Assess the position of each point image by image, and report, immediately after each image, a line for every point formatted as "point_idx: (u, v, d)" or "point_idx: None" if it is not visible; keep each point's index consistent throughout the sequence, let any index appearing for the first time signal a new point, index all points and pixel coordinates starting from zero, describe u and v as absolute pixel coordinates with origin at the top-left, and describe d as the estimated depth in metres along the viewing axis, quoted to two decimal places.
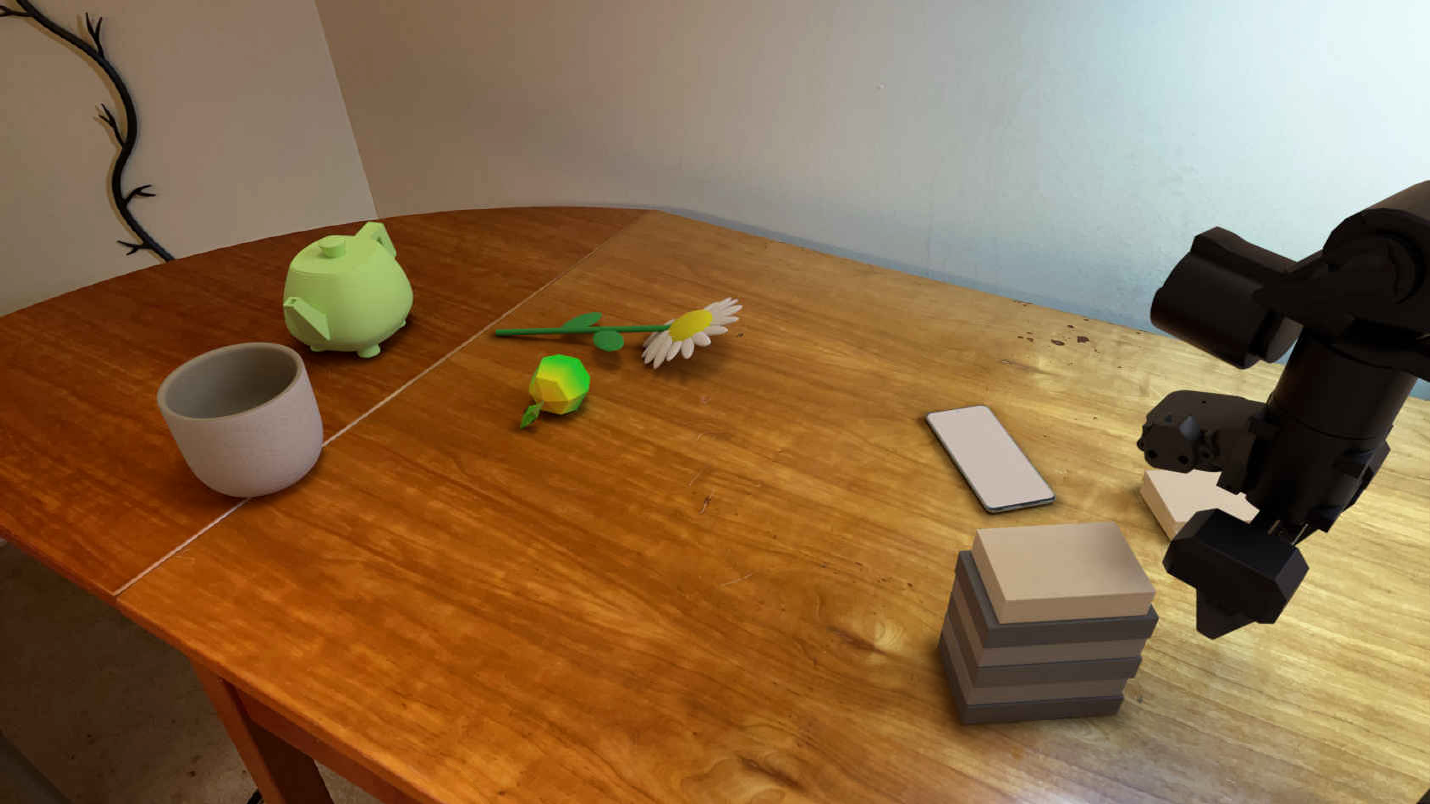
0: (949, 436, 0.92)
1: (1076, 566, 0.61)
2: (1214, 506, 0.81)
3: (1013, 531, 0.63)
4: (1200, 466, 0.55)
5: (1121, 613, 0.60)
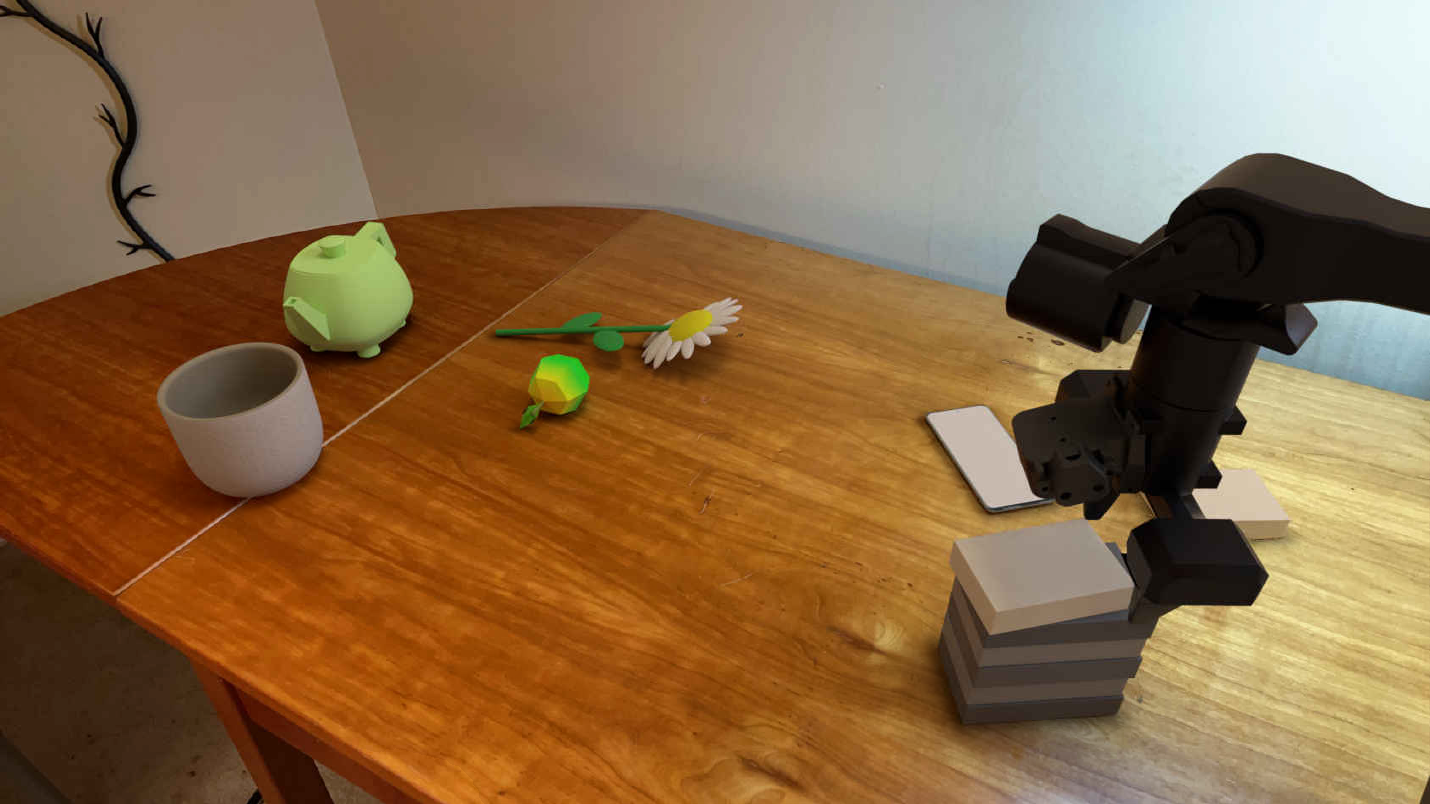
0: (949, 436, 0.92)
1: (1057, 568, 0.61)
2: (1214, 506, 0.81)
3: (990, 538, 0.63)
4: None
5: (1104, 610, 0.60)
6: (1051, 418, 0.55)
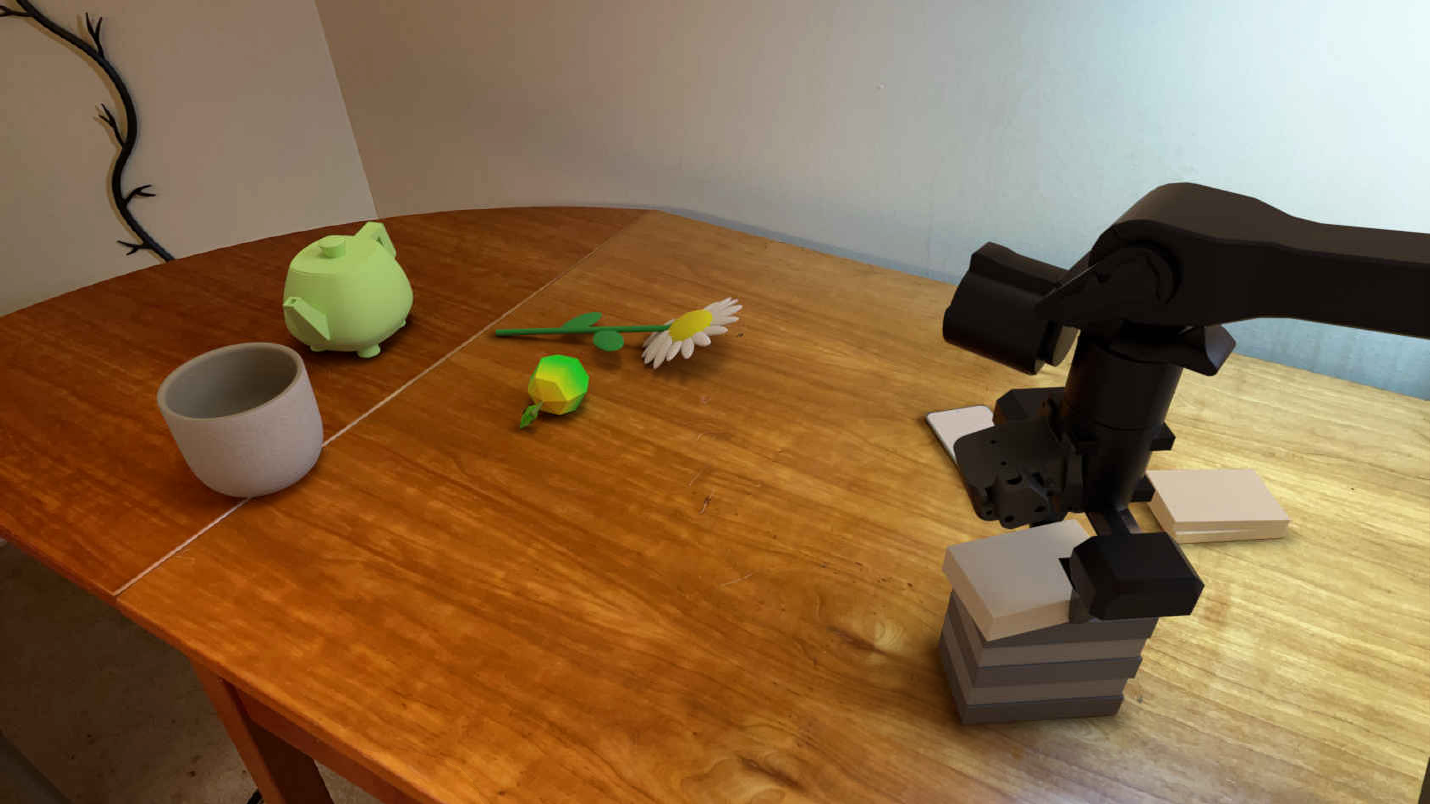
0: (949, 436, 0.92)
1: (1050, 571, 0.60)
2: (1214, 506, 0.81)
3: (982, 543, 0.62)
4: None
5: None
6: (991, 442, 0.56)
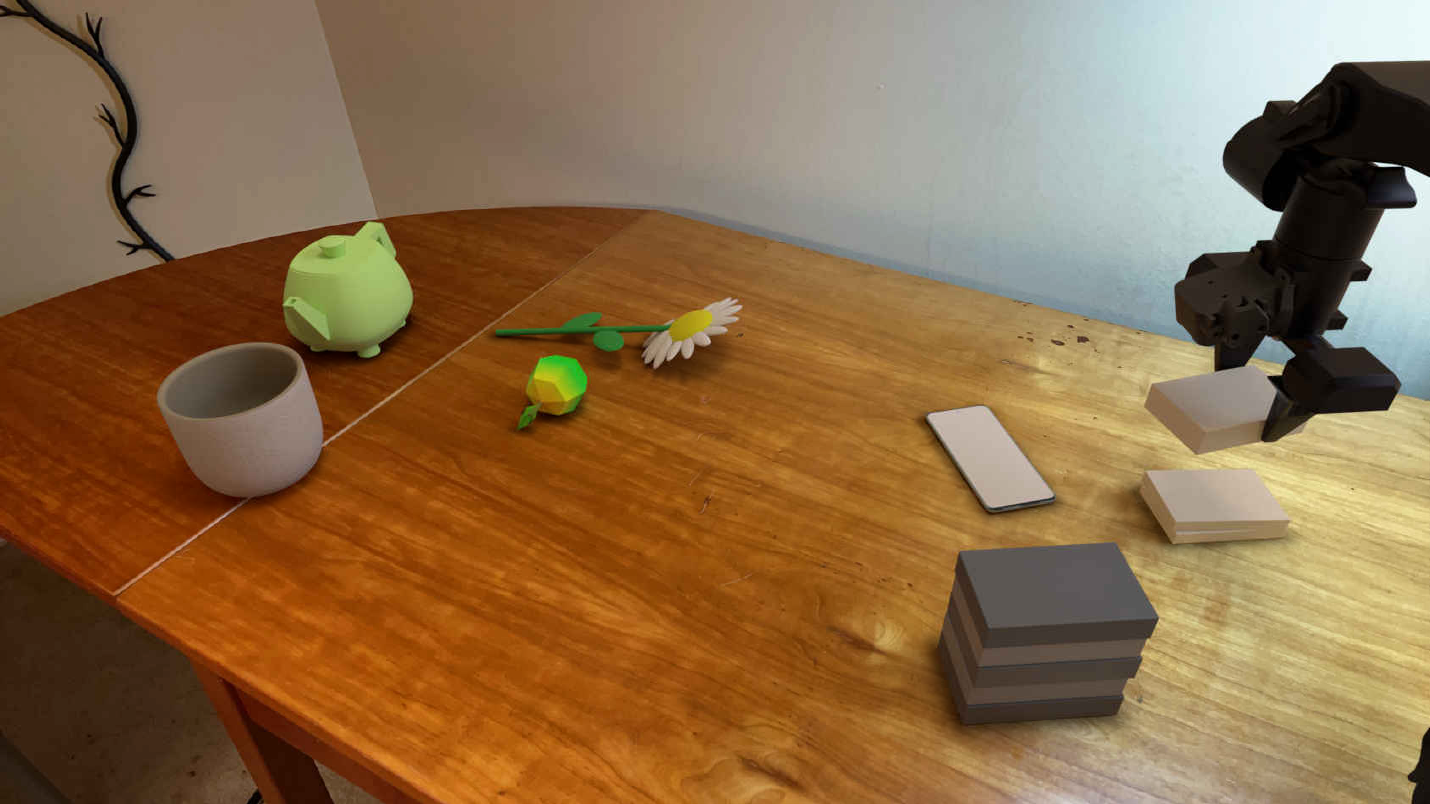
0: (949, 436, 0.92)
1: (1244, 400, 0.72)
2: (1214, 506, 0.81)
3: (1181, 381, 0.74)
4: None
5: None
6: (1208, 282, 0.68)
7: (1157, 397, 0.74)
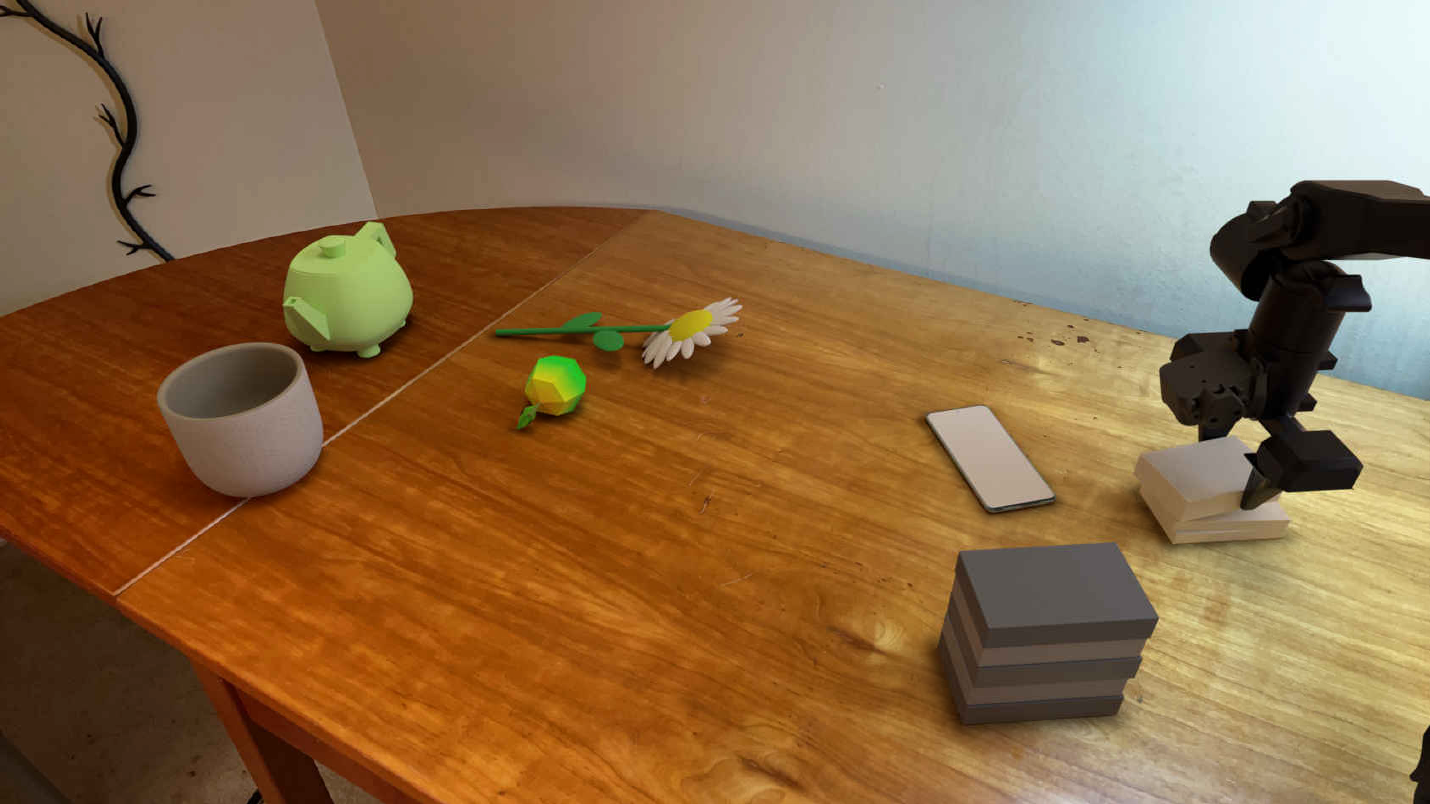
0: (949, 436, 0.92)
1: (1224, 471, 0.79)
2: None
3: (1167, 452, 0.81)
4: None
5: None
6: (1190, 367, 0.74)
7: (1145, 466, 0.80)
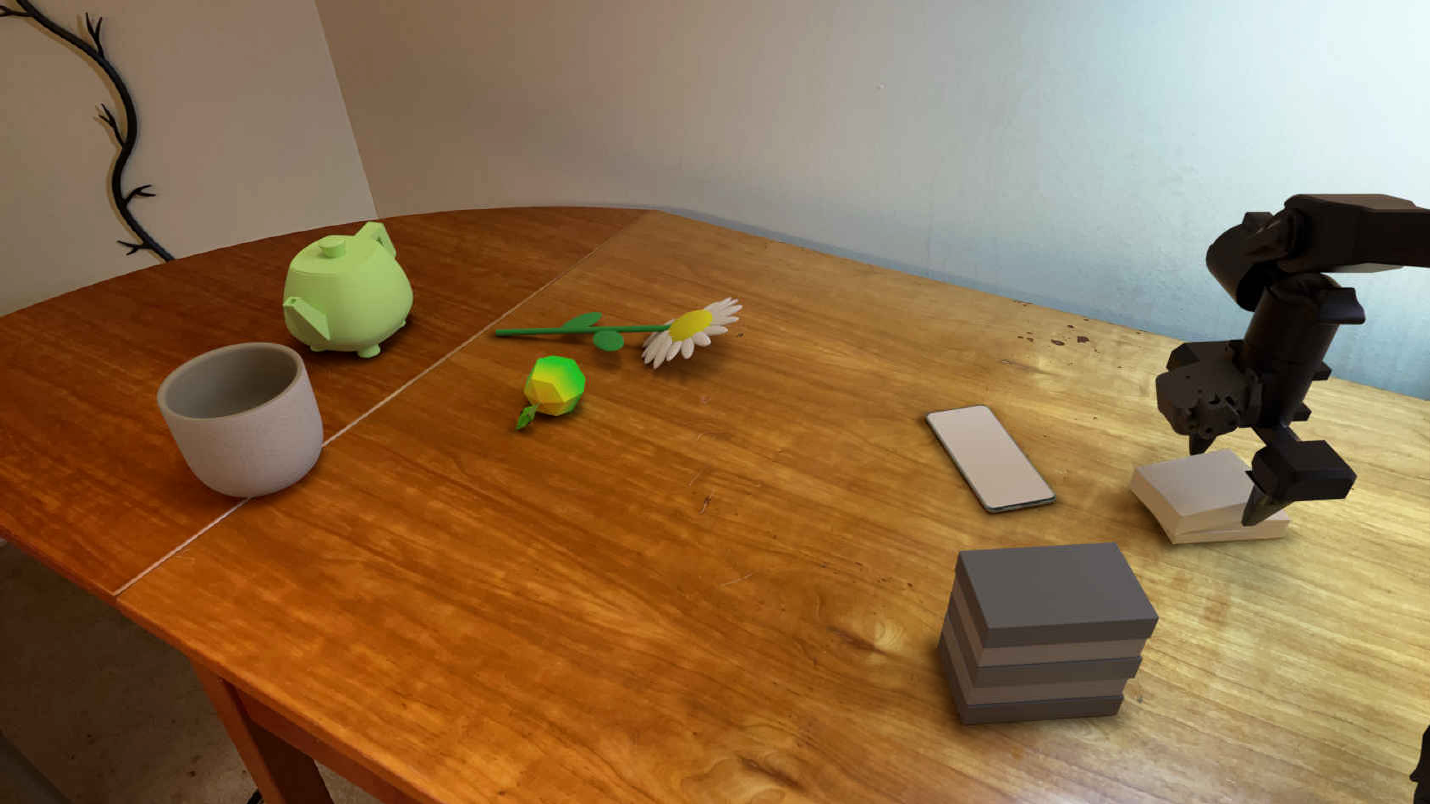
0: (949, 436, 0.92)
1: (1218, 484, 0.80)
2: None
3: (1162, 465, 0.82)
4: None
5: None
6: (1186, 377, 0.75)
7: (1139, 480, 0.81)
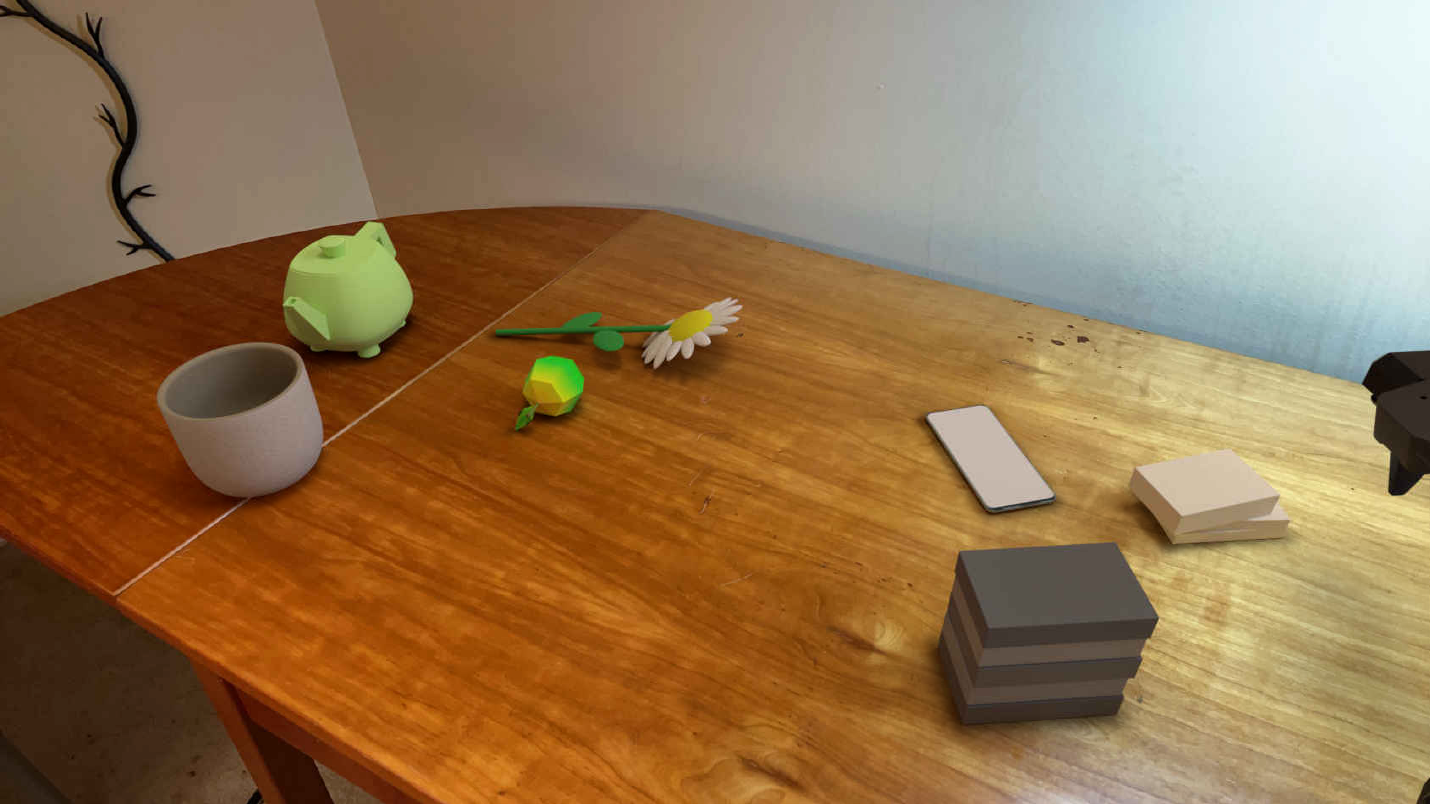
0: (949, 436, 0.92)
1: (1218, 484, 0.80)
2: None
3: (1162, 465, 0.82)
4: None
5: (1255, 514, 0.79)
6: (1420, 397, 0.57)
7: (1139, 480, 0.81)
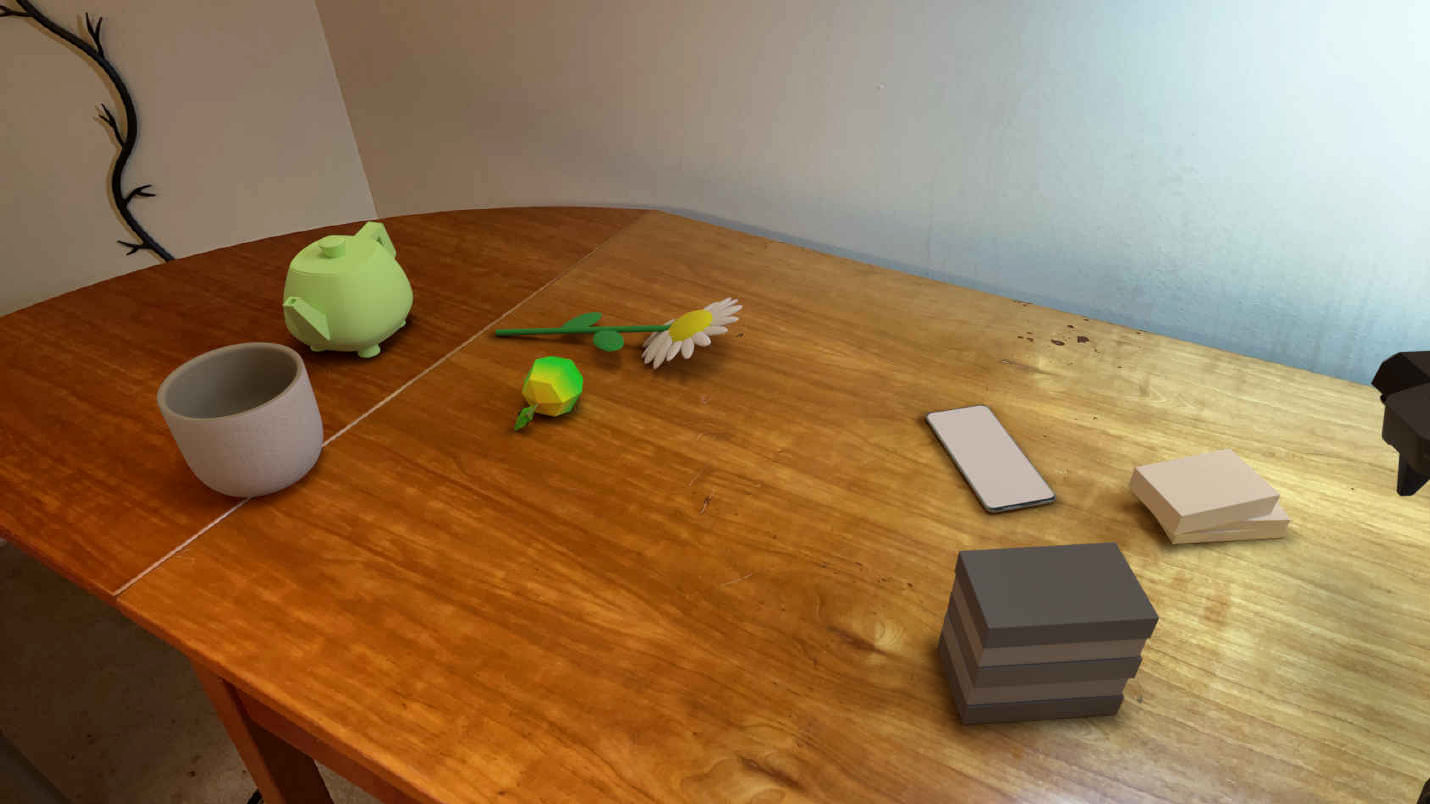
0: (949, 436, 0.92)
1: (1218, 484, 0.80)
2: None
3: (1162, 465, 0.82)
4: None
5: (1255, 514, 0.79)
6: (1429, 399, 0.57)
7: (1139, 480, 0.81)
